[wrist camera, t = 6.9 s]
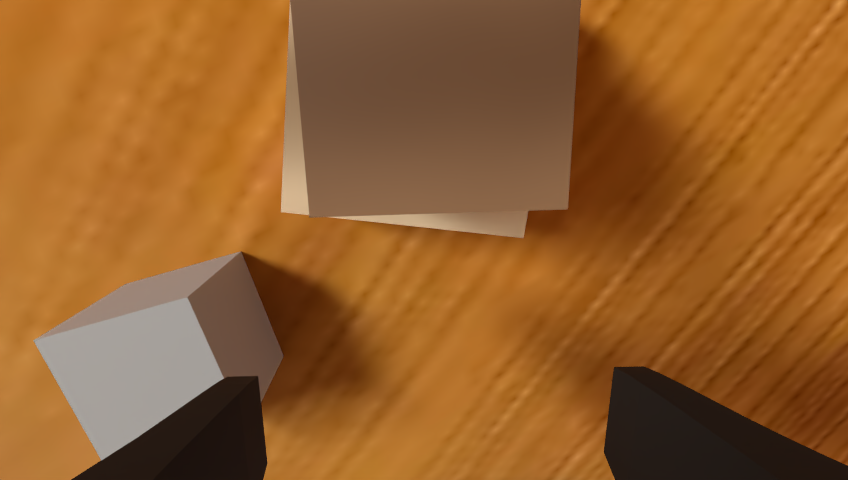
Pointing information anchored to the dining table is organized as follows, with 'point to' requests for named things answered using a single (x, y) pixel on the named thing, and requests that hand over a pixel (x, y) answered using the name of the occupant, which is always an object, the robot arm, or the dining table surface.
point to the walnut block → (436, 104)
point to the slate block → (160, 348)
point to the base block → (298, 203)
